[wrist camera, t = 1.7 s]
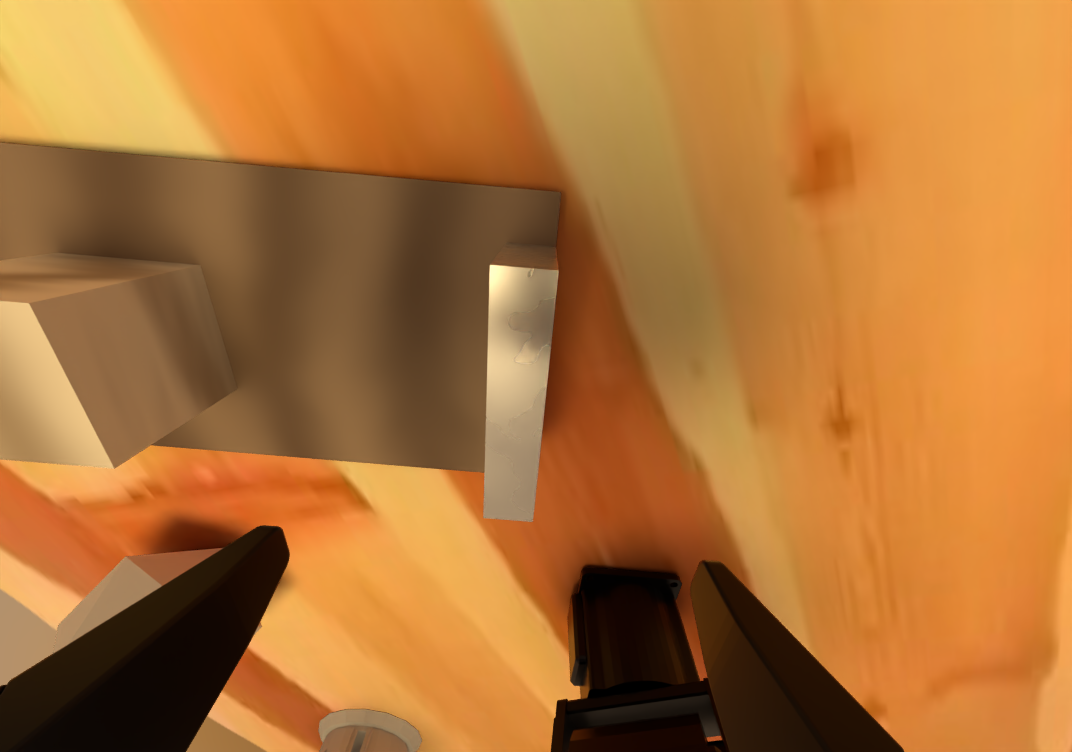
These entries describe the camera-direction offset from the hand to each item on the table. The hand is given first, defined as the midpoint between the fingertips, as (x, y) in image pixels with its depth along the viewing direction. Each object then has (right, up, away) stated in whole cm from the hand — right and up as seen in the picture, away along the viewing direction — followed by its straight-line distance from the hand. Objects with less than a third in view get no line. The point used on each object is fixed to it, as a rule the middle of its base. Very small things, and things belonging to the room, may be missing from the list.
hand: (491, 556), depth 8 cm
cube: (-17, +6, +9) cm, 20 cm away
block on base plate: (-11, +6, +10) cm, 16 cm away
